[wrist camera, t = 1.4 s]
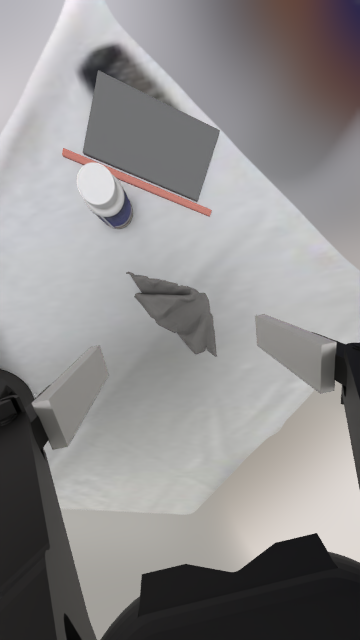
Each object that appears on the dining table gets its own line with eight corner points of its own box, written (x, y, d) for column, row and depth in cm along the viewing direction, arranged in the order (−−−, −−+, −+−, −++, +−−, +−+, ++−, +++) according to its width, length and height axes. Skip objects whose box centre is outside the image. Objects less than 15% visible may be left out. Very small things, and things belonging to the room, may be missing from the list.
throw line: (63, 156, 29) (62, 154, 29) (64, 149, 29) (63, 148, 29) (209, 216, 33) (209, 215, 33) (211, 210, 33) (211, 210, 33)
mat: (84, 154, 30) (82, 152, 29) (99, 74, 27) (98, 70, 27) (197, 201, 32) (197, 200, 32) (218, 132, 30) (219, 130, 30)
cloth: (236, 343, 41) (240, 347, 38) (186, 375, 42) (187, 381, 39) (172, 239, 34) (173, 236, 32) (114, 279, 35) (111, 280, 33)
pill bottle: (135, 197, 32) (121, 163, 22) (131, 232, 33) (116, 214, 23) (101, 189, 31) (72, 150, 21) (98, 225, 32) (70, 203, 23)
